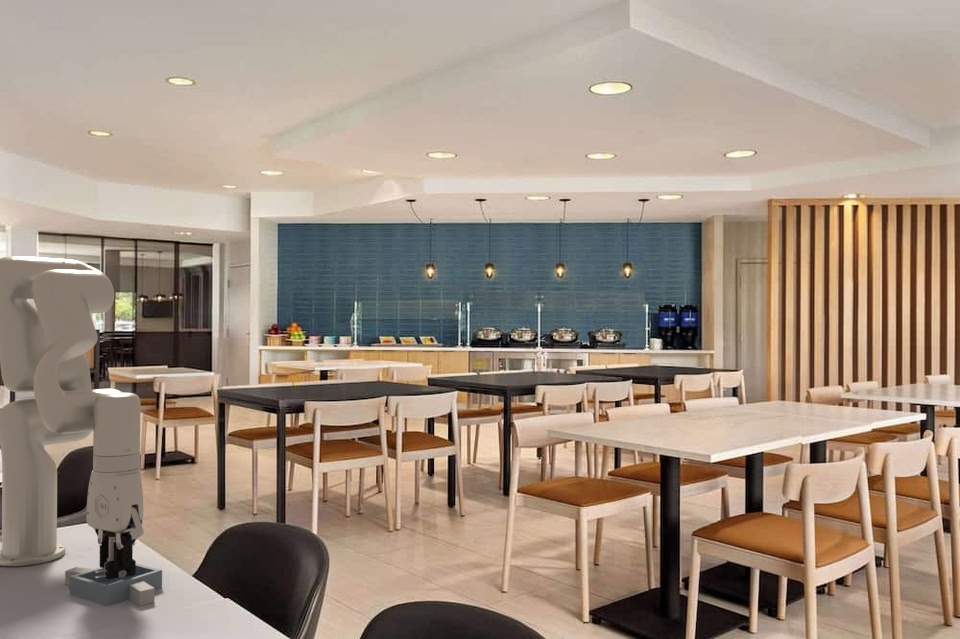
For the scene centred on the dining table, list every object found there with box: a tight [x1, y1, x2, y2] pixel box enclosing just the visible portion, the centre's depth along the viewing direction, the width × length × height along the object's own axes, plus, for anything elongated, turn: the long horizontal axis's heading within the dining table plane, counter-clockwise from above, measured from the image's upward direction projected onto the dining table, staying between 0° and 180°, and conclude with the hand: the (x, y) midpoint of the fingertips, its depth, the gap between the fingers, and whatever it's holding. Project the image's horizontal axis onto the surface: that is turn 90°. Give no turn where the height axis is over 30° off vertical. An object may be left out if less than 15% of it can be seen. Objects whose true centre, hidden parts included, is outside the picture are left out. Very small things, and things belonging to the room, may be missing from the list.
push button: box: [95, 526, 136, 580], centre depth 138 cm, size 7×5×10 cm
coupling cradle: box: [64, 563, 163, 607], centre depth 138 cm, size 22×11×3 cm, turn 60°
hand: (116, 566), depth 138 cm, fingers closed on push button, 3 cm apart
